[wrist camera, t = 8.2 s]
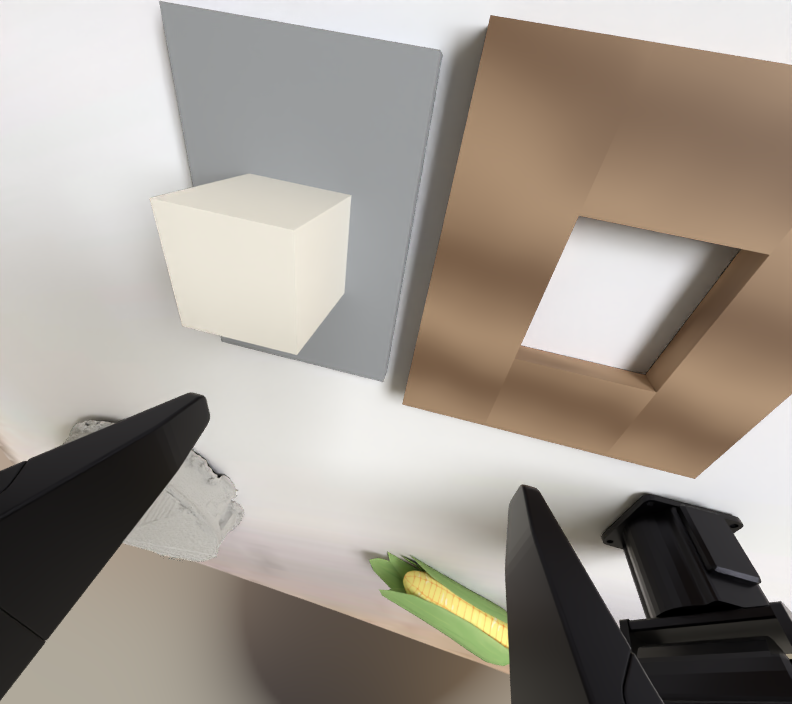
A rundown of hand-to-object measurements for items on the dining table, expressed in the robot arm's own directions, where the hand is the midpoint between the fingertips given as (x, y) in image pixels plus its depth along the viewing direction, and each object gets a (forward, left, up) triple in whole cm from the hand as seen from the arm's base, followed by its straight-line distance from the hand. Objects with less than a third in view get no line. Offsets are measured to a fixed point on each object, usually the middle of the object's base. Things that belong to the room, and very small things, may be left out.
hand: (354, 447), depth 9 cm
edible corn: (-34, -11, -12) cm, 38 cm away
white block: (+2, +6, -10) cm, 12 cm away
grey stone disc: (-29, +23, -12) cm, 39 cm away
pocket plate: (+1, -10, -11) cm, 15 cm away
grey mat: (+1, +6, -11) cm, 13 cm away
